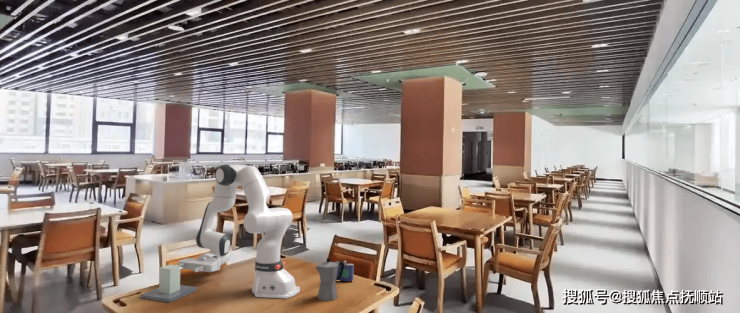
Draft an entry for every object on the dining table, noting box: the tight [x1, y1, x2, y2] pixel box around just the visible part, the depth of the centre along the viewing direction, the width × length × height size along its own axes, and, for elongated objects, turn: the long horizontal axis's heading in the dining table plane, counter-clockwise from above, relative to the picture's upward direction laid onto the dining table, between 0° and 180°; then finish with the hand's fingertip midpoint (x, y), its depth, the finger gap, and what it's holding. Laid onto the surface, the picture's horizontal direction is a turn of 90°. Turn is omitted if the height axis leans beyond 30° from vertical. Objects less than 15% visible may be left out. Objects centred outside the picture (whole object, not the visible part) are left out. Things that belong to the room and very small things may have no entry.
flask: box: [335, 260, 355, 281], centre depth 194 cm, size 9×3×11 cm, turn 87°
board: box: [139, 284, 198, 304], centre depth 171 cm, size 16×16×6 cm
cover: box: [158, 264, 181, 294], centre depth 171 cm, size 6×6×11 cm
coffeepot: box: [314, 257, 345, 302], centre depth 172 cm, size 15×9×18 cm, turn 127°
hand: (186, 269), depth 181 cm, fingers open, 8 cm apart
